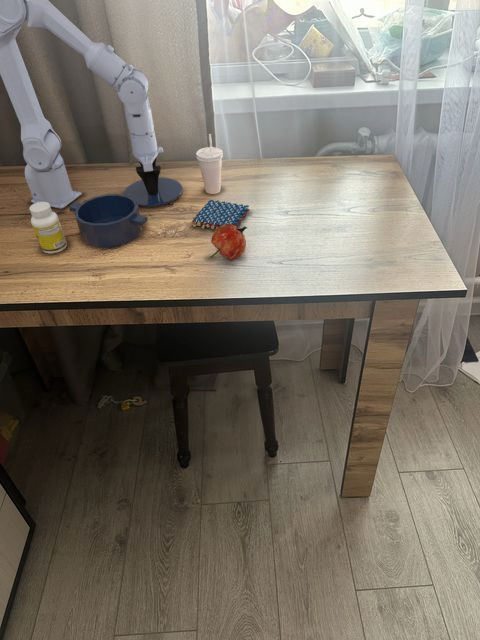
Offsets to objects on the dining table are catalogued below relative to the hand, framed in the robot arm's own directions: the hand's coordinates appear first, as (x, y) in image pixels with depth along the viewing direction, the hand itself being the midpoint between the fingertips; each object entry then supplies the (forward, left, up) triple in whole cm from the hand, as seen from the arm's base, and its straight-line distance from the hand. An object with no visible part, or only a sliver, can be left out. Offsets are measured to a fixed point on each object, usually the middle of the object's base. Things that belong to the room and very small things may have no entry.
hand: (152, 187), depth 124 cm
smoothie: (+13, +7, -2) cm, 15 cm away
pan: (0, -18, -2) cm, 18 cm away
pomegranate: (+29, -18, -2) cm, 34 cm away
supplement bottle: (-8, -28, -2) cm, 29 cm away
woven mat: (+21, -5, -2) cm, 22 cm away
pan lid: (0, 0, -1) cm, 1 cm away
